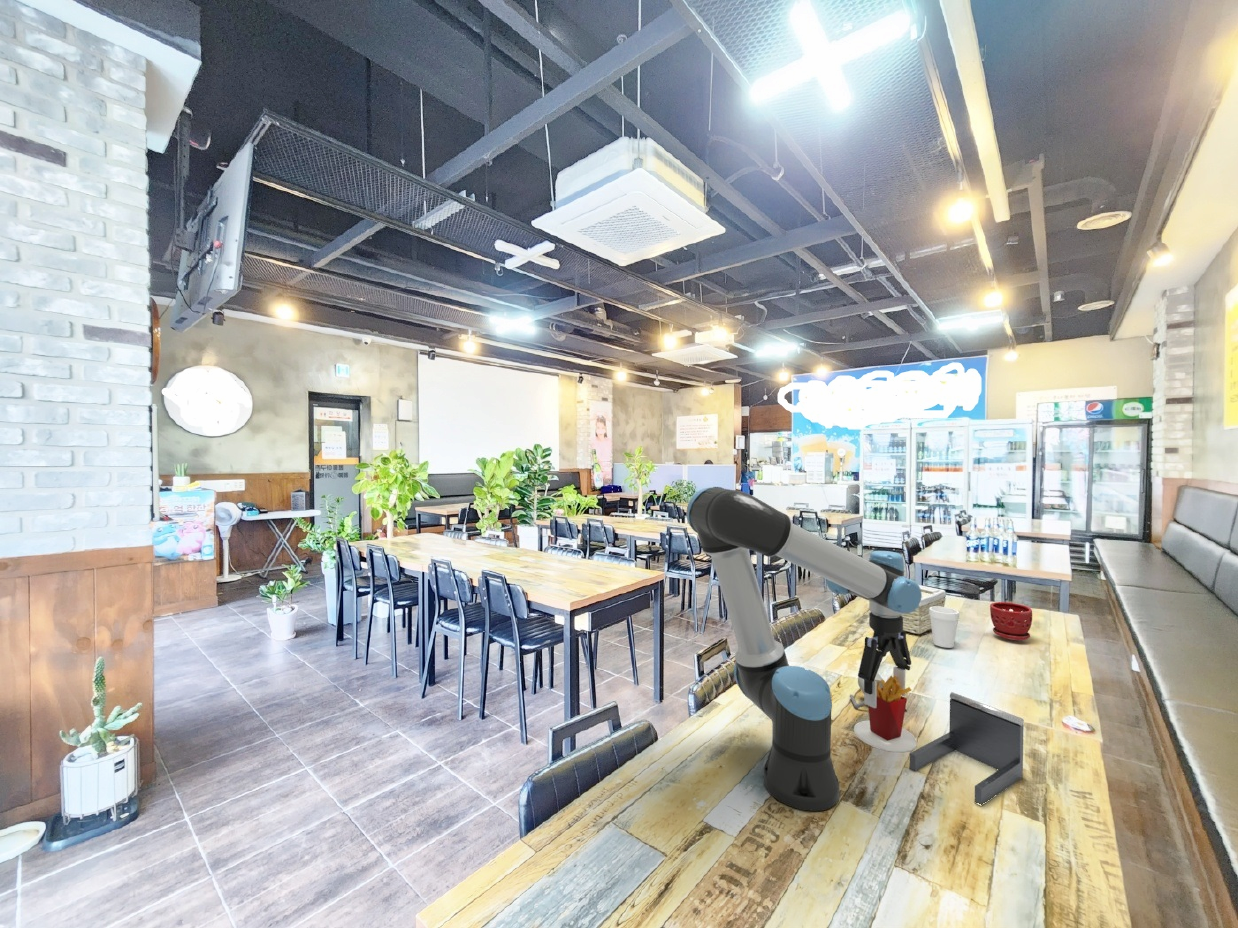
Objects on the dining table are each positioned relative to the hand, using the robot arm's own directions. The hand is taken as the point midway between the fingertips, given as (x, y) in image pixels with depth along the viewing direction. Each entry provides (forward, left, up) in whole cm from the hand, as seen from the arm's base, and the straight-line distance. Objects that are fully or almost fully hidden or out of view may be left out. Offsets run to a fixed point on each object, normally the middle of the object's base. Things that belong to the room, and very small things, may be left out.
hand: (885, 699), depth 128 cm
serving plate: (0, 0, -10) cm, 10 cm away
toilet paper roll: (+17, +9, -13) cm, 23 cm away
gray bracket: (-1, -18, -10) cm, 20 cm away
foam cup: (+80, +26, -10) cm, 84 cm away
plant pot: (+111, +17, -10) cm, 113 cm away
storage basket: (+92, +44, -10) cm, 103 cm away
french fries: (+1, -1, -9) cm, 9 cm away
